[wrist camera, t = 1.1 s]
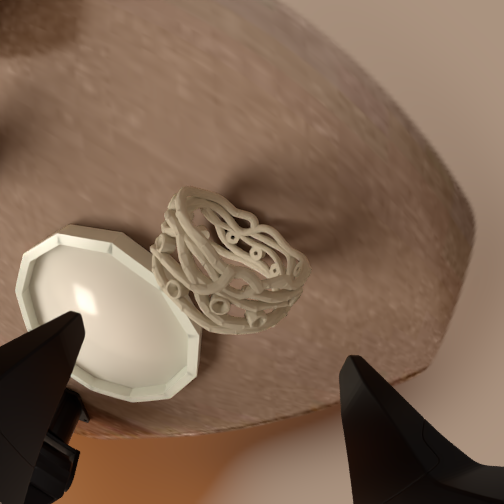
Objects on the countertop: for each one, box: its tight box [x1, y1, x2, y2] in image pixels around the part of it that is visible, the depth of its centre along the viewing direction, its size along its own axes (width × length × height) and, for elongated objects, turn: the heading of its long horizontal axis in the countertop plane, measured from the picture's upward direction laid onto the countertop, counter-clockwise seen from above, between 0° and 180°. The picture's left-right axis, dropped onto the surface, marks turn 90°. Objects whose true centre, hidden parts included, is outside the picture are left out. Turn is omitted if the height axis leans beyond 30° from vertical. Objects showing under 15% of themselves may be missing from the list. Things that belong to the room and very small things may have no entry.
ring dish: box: [15, 224, 202, 402], centre depth 22 cm, size 17×17×2 cm
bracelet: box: [150, 186, 312, 335], centre depth 15 cm, size 4×8×8 cm, turn 61°
